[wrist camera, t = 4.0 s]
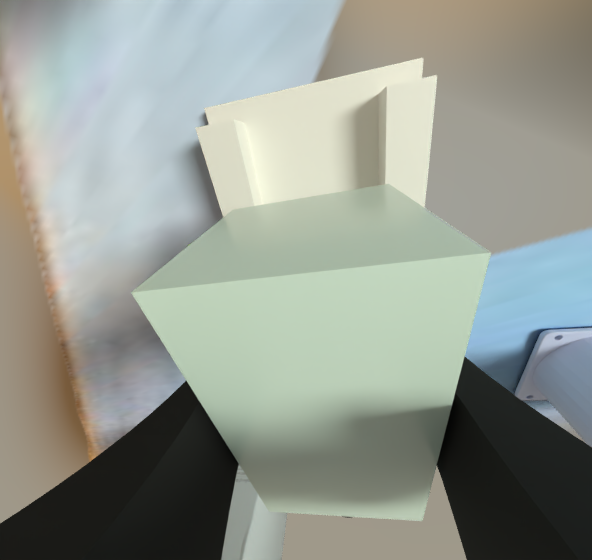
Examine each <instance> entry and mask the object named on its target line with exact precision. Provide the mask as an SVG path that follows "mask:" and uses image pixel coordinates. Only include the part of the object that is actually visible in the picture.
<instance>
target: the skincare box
mask: <svg viewBox="0 0 592 560" xmlns="http://www.w3.org/2000/svg"><path fill="white" fill-rule="evenodd" d="M286 519H287V513H283V512H269V511H268V509H267V508H266V506H265V504H264V503H263V501H262V500H261V498H260V497H259V495H258V493H257V492H256V490H255V489H254V487H253V485H252V484H251V482H250V481H249V479H248V477H247V476H246V474H245V473H244V471H243V470H242V468H241V466H240V465H239V466H238V470H237V474H236V479H235V485H234V490H233V495H232V500H231V506H230V511H229V517H228V523H227V528H226V534H225V540H224V546H223V552H222V558H221V560H281V559H282V551H283V543H284V535H285V527H286Z"/></svg>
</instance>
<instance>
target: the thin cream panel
mask: <svg viewBox="0 0 592 560" xmlns="http://www.w3.org/2000/svg"><path fill="white" fill-rule="evenodd" d="M422 70H423V58H419V59H415V60H411V61H407V62H402V63H398V64H393V65H389V66H385V67H381V68H377V69H372V70H367V71H363V72H359V73H354V74H350V75H346V76H342V77H337V78H333V79H329V80H324V81H320V82H316V83H311V84H307V85H303V86H298V87H294V88H290V89H285V90H281V91H277V92H272V93H268V94H264V95H259V96H255V97H251V98H246V99H242V100H238V101H233V102H229V103H225V104H220V105H216V106H212V107H207V108H204V109H205V113H206V116H207V120H208V123H209V125H206V126H201V127H196V131H197V135H198V138H199V141H200V144H201V147H202V151H203V154H204V157H205V160H206V164H207V167H208V170H209V173H210V177H211V180H212V183H213V186H214V189H215V193H216V196H217V199H218V202H219V206H220V209H221V212H222V215H223V217H225V216H226V215H227V214H228V213H229V212H231V211H232V210H233V209H239V208H245V207H251V206H257V205H263V204H269V203H275V202H281V201H287V200H294V199H300V198H306V197H312V196H318V195H324V194H330V193H336V192H342V191H348V190H354V189H360V188H366V187H372V186H378V185H384V184H390V185H391V186H393V187H394V188H396V189H397V190H399V191H400V192H402V193H403V194H405V195H406V196H408V197H409V198H411V199H412V200H414V201H415V202H417V203H418V204H420V205H421V206H423V207H424V208H425V199H426V188H427V177H428V167H429V157H430V146H431V136H432V125H433V115H434V103H435V93H436V83H437V75H435V76H430V77H426V78H422Z"/></svg>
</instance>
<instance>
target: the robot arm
mask: <svg viewBox="0 0 592 560" xmlns="http://www.w3.org/2000/svg"><path fill="white" fill-rule="evenodd" d="M522 400H548V401H549V402H550V403H551V404H552V405H553V406H554V408H555V409H556V410H557V411H558V412H559V413H560V414H561V415H562V417H563V418H564V419H565V420H566V421H567V422H568V423H569V424H570V426H571V427H572V428H573V429H574V430H575V431H576V432H577V433H578V435H579V436H580V437H581V438H582V439H583V440H584V441H585V442H586V443H584V442H583V441H581V440H580V439H578V438H576V437H575V436H573V435H572V434H570V433H569V432H567V431H566V430H564V429H563V428H561V427H560V426H558V425H557V424H555V423H554V422H552V421H551V420H549V419H548V418H546V417H545V416H543V415H542V414H540V413H539V412H537V411H536V410H535V409H533V408H532V407H530V406H529V405H527V404H526V403H525V402H523V401H522ZM238 466H239V463H238V462H237V460H236V458H235V457H234V455H233V454H232V452H231V451H230V449H229V447H228V446H227V444H226V443H225V441H224V439H223V438H222V436H221V435H220V433H219V431H218V430H217V428H216V427H215V425H214V424H213V422H212V420H211V419H210V417H209V416H208V414H207V412H206V411H205V409H204V408H203V406H202V404H201V403H200V401H199V400H198V398H197V397H196V395H195V393H194V392H193V390H192V389H191V387H190V385H189V384H188V382H187V381H186V382H185V383H183V384H182V385H181V386H180V387H179V388H178V389H177V390H176V391H175V392H174V393H173V394H172V395H171V396H170V397H169V398H168V399H167V400H166V401H165V402H163V403H162V404H161V405H160V406H159V407H158V408H157V409H156V410H154V411H153V412H152V413H151V414H150V415H149V416H147V417H146V418H145V419H144V420H143V421H142V422H140V423H139V424H138V425H137V426H136V427H134V428H133V429H132V430H131V431H130V432H128V433H127V434H126V435H125V436H123V437H122V438H121V439H119V440H118V441H117V442H115V443H114V444H113V445H111V446H110V447H109V448H108V449H106V450H105V451H104V452H102V453H101V454H100V455H98V456H97V457H96V458H95V459H93V460H92V461H91V462H89V463H88V464H87V465H85V466H84V467H83V468H81V469H80V470H78V471H77V472H76V473H74V474H73V475H71V476H70V477H69V478H67V479H66V480H64V481H63V482H62V483H60V484H59V485H57V486H56V487H55V488H53V489H52V490H50V491H49V492H47V493H46V494H44V495H43V496H41V497H40V498H38V499H37V500H35V501H34V502H32V503H31V504H29V505H28V506H27V507H25V508H23V509H22V510H21V511H19V512H18V513H16V514H14V515H13V516H11V517H10V518H8V519H7V520H5V521H4V522H2V523H0V560H221V558H222V552H223V546H224V540H225V534H226V528H227V523H228V517H229V511H230V506H231V500H232V495H233V490H234V485H235V479H236V474H237V470H238ZM437 467H438V469H439V472H440V475H441V478H442V480H443V484H444V487H445V490H446V493H447V496H448V500H449V503H450V506H451V509H452V512H453V516H454V519H455V522H456V525H457V529H458V531H459V535H460V538H461V542H462V545H463V548H464V552H465V555H466V558H467V560H592V328H576V329H556V330H545V331H543V332H542V333H541V334H540V335H539V338H538V340H537V342H536V344H535V347H534V349H533V351H532V354H531V356H530V358H529V361H528V363H527V365H526V368H525V370H524V372H523V375H522V377H521V379H520V382H519V384H518V386H517V389H516V391H515V393H514V395H513V394H512V393H511V392H509V391H508V390H507V389H505V388H504V387H503V386H501V385H500V384H499V383H497V382H496V381H495V380H493V379H492V378H491V377H489V376H488V375H487V374H486V373H484V372H483V371H482V370H481V369H479V368H478V367H477V366H476V365H474V364H473V363H472V362H471V361H469V360H468V359H467V358H466V357H465V356H464V360H463V364H462V368H461V372H460V376H459V380H458V384H457V388H456V392H455V395H454V399H453V403H452V407H451V411H450V415H449V419H448V423H447V427H446V431H445V434H444V438H443V442H442V446H441V450H440V454H439V458H438V462H437Z"/></svg>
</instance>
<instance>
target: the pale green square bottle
mask: <svg viewBox="0 0 592 560" xmlns="http://www.w3.org/2000/svg"><path fill="white" fill-rule="evenodd" d="M490 255H491V252H489V251H488V250H487V249H485V248H484V247H482V246H481V245H479V244H478V243H476V242H475V241H473V240H472V239H470V238H469V237H467V236H466V235H464V234H463V233H461V232H460V231H458V230H457V229H455V228H454V227H452V226H451V225H449V224H448V223H446V222H445V221H444V220H442V219H440V218H439V217H437V216H436V215H434V214H433V213H432V212H430V211H429V210H427V209H426V208H424V207H423V206H421V205H420V204H418V203H417V202H415V201H414V200H412V199H411V198H409V197H408V196H406V195H405V194H403V193H402V192H400V191H399V190H397V189H396V188H394V187H393V186H391V185H390V184H384V185H378V186H372V187H366V188H360V189H354V190H348V191H342V192H336V193H330V194H324V195H318V196H312V197H306V198H300V199H294V200H287V201H281V202H275V203H269V204H263V205H257V206H251V207H245V208H239V209H233V210H232V211H231V212H229V213H228V214H227V215H226V216H225V217H223V218H222V219H221V220H220V221H218V222H217V223H216V224H215V225H213V226H212V227H211V228H210V229H209V230H207V231H206V232H205V233H204V234H202V235H201V236H200V237H199V238H197V239H196V240H195V241H194V242H193V243H191V244H190V245H189V246H188V247H186V248H185V249H184V250H183V251H181V252H180V253H179V254H178V255H177V256H175V257H174V258H173V259H172V260H170V261H169V262H168V263H167V264H165V265H164V266H163V267H162V268H161V269H159V270H158V271H157V272H156V273H154V274H153V275H152V276H151V277H149V278H148V279H147V280H146V281H145V282H143V283H142V284H141V285H140V286H138V287H137V288H136V289H135V290H133V291H132V292H131V293H132V295H133V297H134V298H135V300H136V301H137V303H138V304H139V306H140V308H141V309H142V311H143V312H144V314H145V316H146V317H147V319H148V320H149V322H150V324H151V325H152V327H153V328H154V330H155V331H156V333H157V335H158V336H159V338H160V339H161V341H162V343H163V344H164V346H165V347H166V349H167V351H168V352H169V354H170V355H171V357H172V358H173V360H174V362H175V363H176V365H177V366H178V368H179V370H180V371H181V373H182V374H183V376H184V377H185V379H186V381H187V382H188V384H189V385H190V387H191V389H192V390H193V392H194V393H195V395H196V397H197V398H198V400H199V401H200V403H201V404H202V406H203V408H204V409H205V411H206V412H207V414H208V416H209V417H210V419H211V420H212V422H213V424H214V425H215V427H216V428H217V430H218V431H219V433H220V435H221V436H222V438H223V439H224V441H225V443H226V444H227V446H228V447H229V449H230V451H231V452H232V454H233V455H234V457H235V458H236V460H237V462H238V463H239V465H240V466H241V468H242V470H243V471H244V473H245V474H246V476H247V477H248V479H249V481H250V482H251V484H252V485H253V487H254V489H255V490H256V492H257V493H258V495H259V497H260V498H261V500H262V501H263V503H264V504H265V506H266V508H267V509H268V511H269V512H283V513H300V514H301V513H302V514H316V515H332V516H342V517H347V518H352V517H366V518H382V519H397V520H414V521H422V520H423V516H424V512H425V509H426V504H427V501H428V497H429V493H430V489H431V485H432V481H433V477H434V473H435V470H436V466H437V462H438V458H439V454H440V450H441V446H442V442H443V438H444V434H445V431H446V427H447V423H448V419H449V415H450V411H451V407H452V403H453V399H454V395H455V392H456V388H457V384H458V380H459V376H460V372H461V368H462V364H463V360H464V356H465V353H466V349H467V345H468V341H469V337H470V333H471V329H472V325H473V321H474V317H475V314H476V310H477V306H478V302H479V298H480V294H481V290H482V286H483V282H484V278H485V275H486V271H487V267H488V263H489V259H490Z"/></svg>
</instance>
